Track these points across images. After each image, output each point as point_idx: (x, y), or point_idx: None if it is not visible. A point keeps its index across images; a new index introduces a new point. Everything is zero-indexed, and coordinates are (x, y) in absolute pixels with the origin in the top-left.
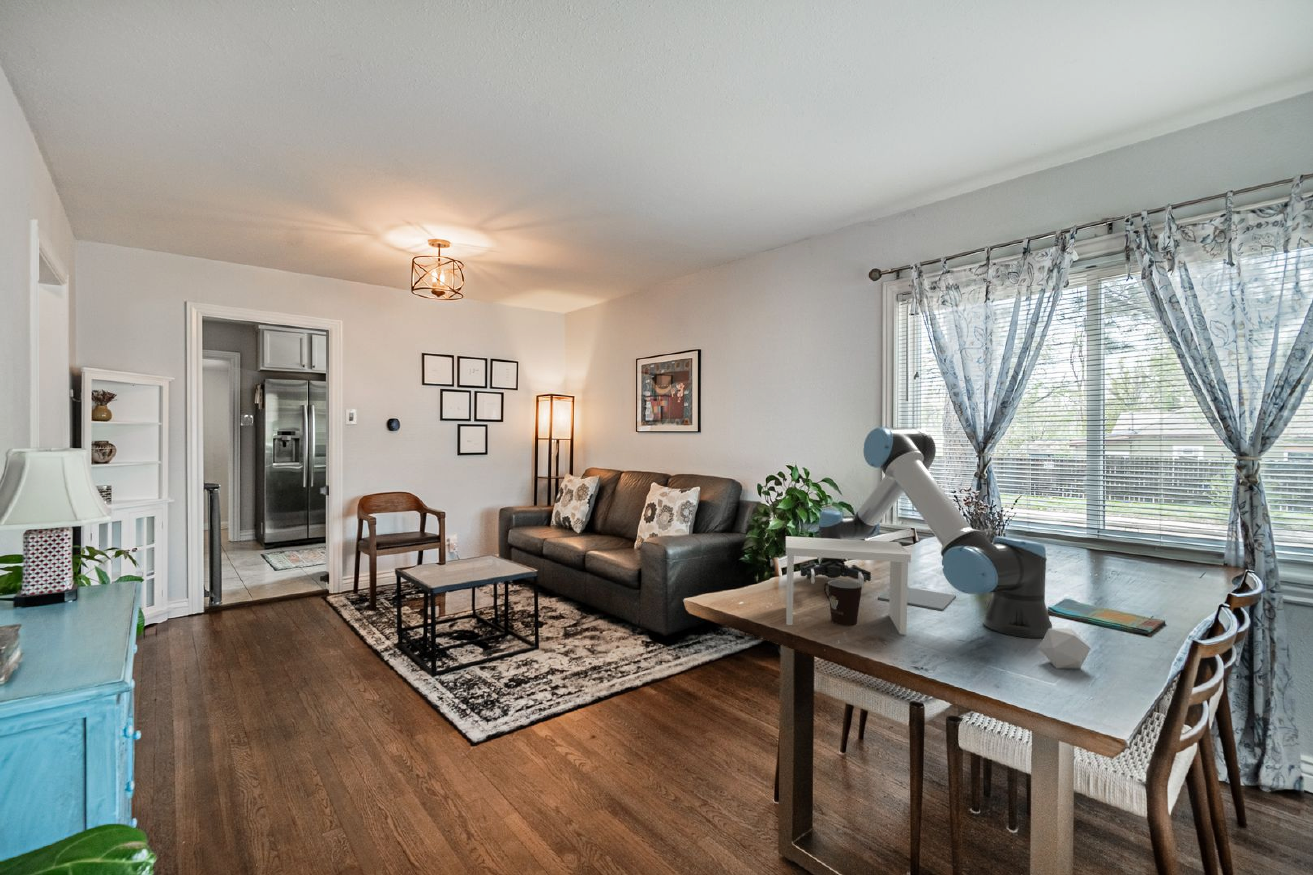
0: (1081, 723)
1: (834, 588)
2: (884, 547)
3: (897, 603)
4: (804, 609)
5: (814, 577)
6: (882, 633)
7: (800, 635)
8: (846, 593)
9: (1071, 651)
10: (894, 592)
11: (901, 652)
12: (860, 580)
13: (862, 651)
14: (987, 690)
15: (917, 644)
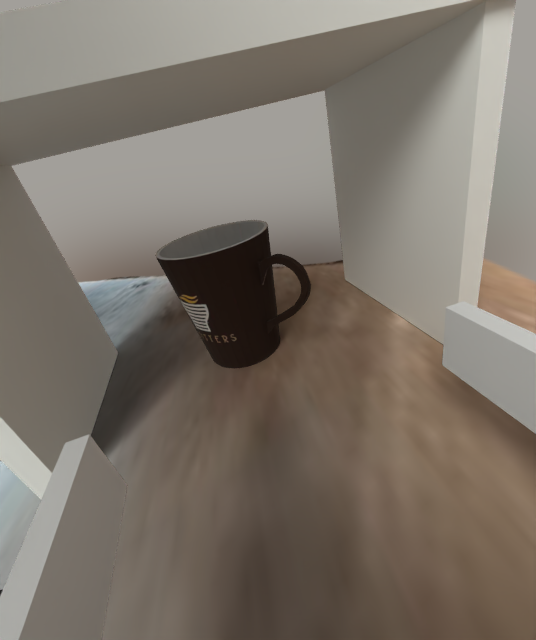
0: None
1: (242, 228)
2: None
3: (74, 316)
4: (401, 362)
5: (445, 329)
6: (158, 338)
7: (307, 267)
8: (212, 245)
9: None
10: (41, 324)
11: (148, 300)
12: (100, 490)
13: None
14: (89, 286)
15: None
